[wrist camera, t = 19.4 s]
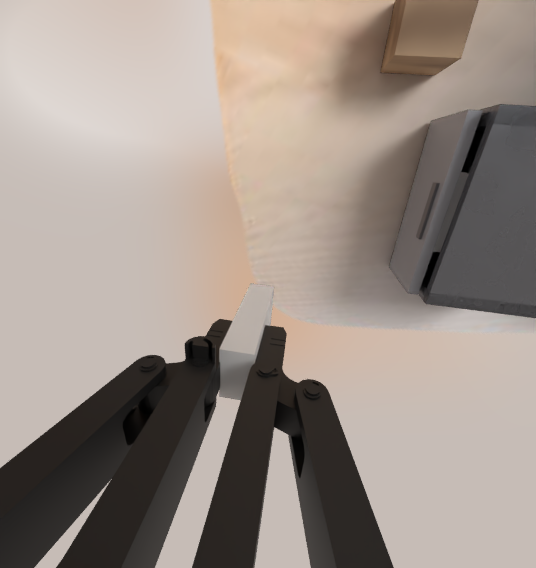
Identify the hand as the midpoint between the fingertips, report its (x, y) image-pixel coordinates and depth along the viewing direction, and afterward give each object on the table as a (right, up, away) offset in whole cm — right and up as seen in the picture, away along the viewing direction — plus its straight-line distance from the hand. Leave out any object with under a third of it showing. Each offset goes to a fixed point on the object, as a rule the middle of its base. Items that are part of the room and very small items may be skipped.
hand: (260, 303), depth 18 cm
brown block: (+14, +24, +7) cm, 28 cm away
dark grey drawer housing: (+24, +10, +12) cm, 28 cm away
